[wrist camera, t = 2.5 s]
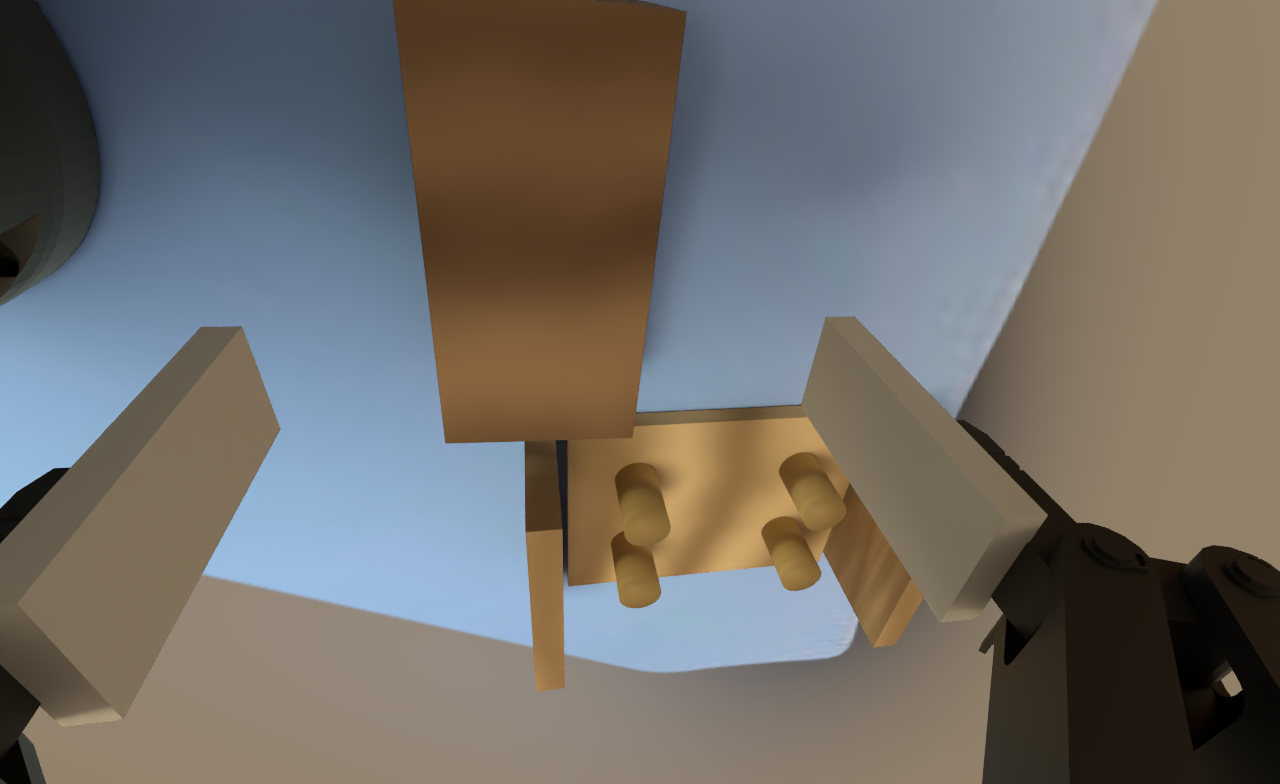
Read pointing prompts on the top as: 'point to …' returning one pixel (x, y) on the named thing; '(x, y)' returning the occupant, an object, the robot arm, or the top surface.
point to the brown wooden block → (539, 204)
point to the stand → (703, 518)
